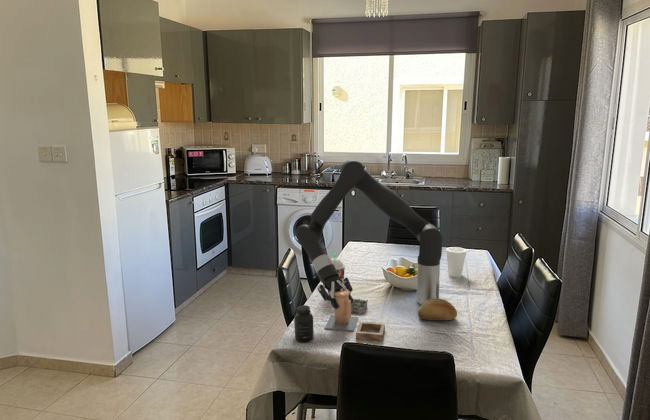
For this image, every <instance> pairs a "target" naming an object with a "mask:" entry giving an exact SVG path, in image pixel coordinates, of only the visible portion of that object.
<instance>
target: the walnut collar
mask: <svg viewBox="0 0 650 420" xmlns="http://www.w3.org/2000/svg"><path fill="white" fill-rule="evenodd" d="M363 330H364V331H363ZM365 330H366V331H365ZM385 330H386V324H385V323H382V322H368V321H359V323H358V326H357V327H356V331H355V339H356V340H362V341H363V340H364V341H370V342H371V341H374V342H383V340H384V334H385ZM369 331H375V332H369ZM377 331H378V332H377Z"/></svg>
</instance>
